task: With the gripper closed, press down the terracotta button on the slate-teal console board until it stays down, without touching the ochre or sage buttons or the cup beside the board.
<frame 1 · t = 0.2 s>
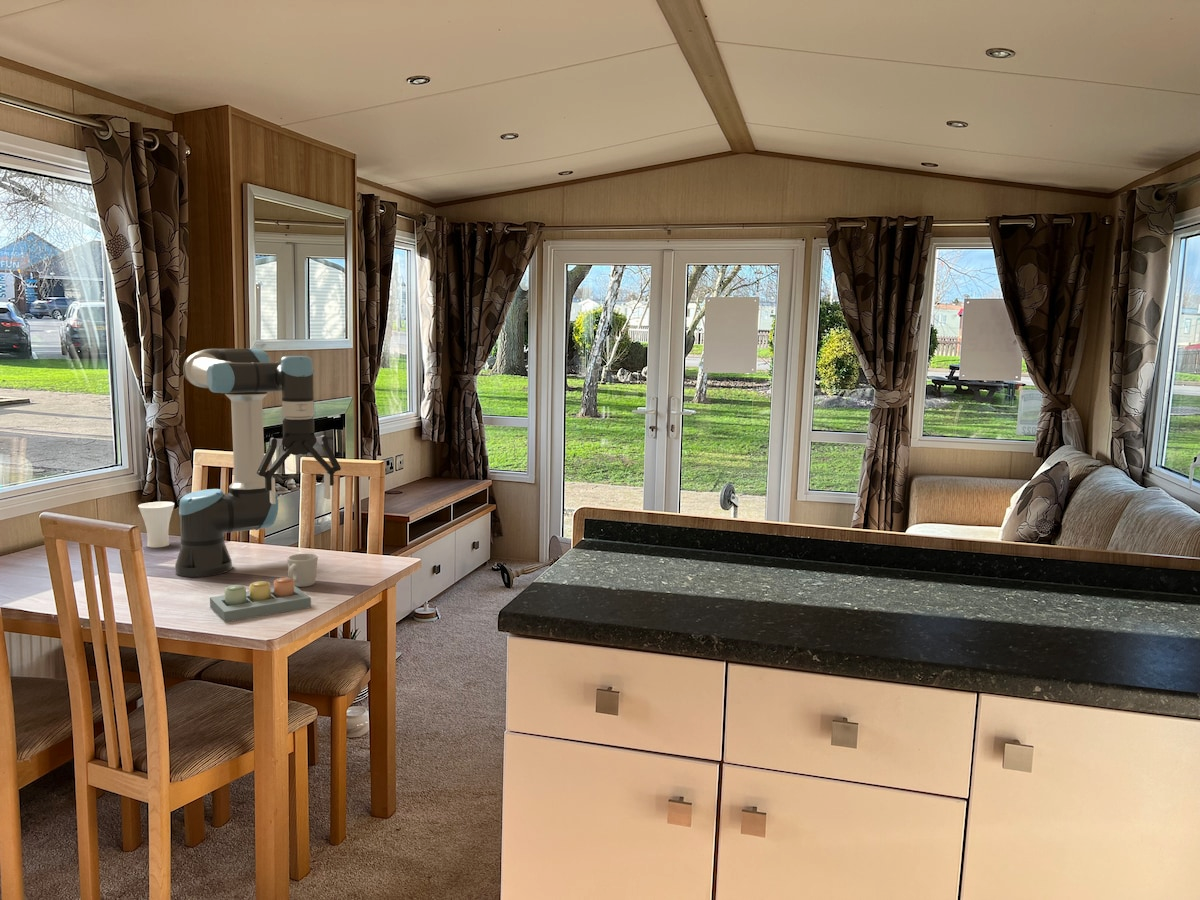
hand: (300, 500, 222), 28 cm above the table, fingers open, 13 cm apart
cup 2: (158, 546, 284), on the table
button terracotta: (283, 587, 226), point 4 cm above the table, slide at 0.0 cm
button ochre: (260, 591, 223), point 4 cm above the table, slide at 0.0 cm
button sage: (235, 595, 219), point 4 cm above the table, slide at 0.0 cm
cup: (300, 586, 242), on the table
console: (260, 607, 223), on the table
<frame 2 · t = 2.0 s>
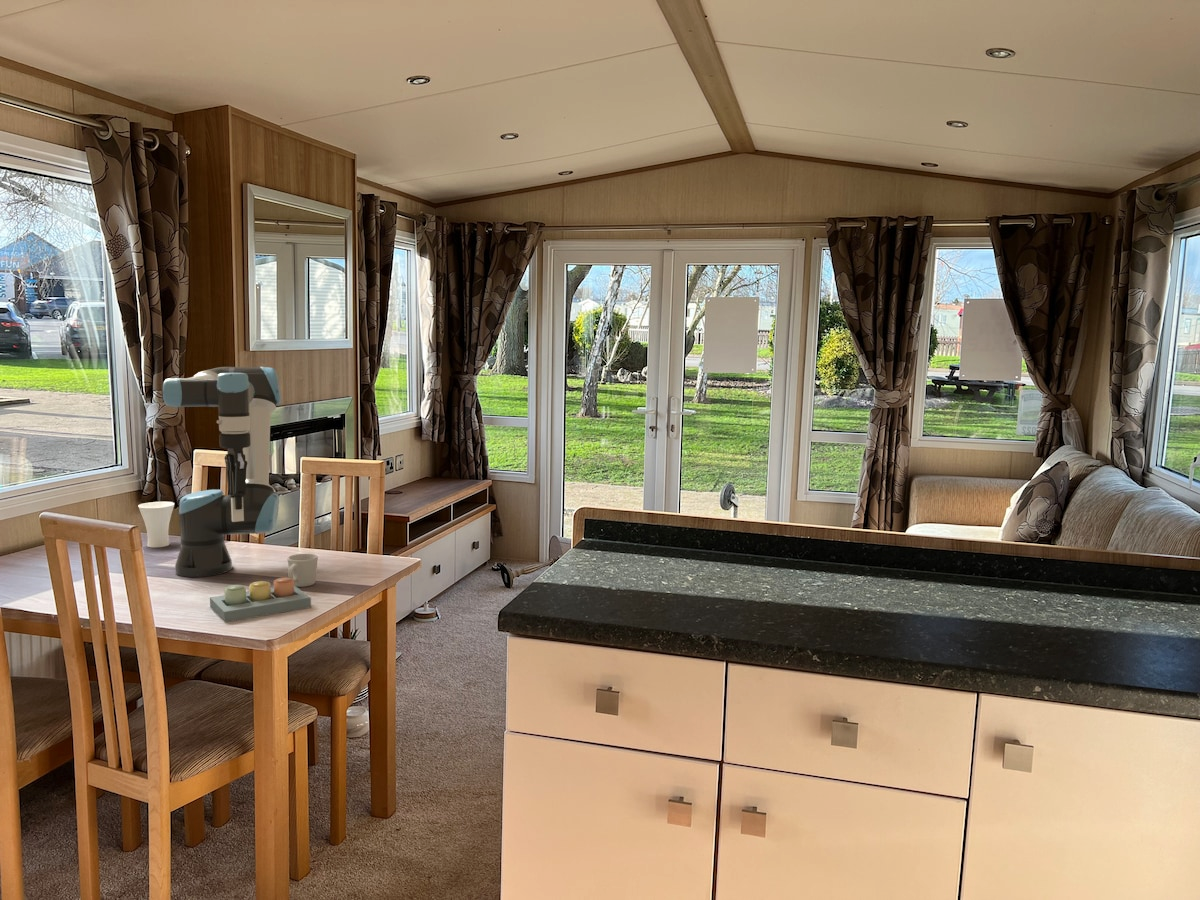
hand: (237, 520, 230), 20 cm above the table, fingers closed
nothing on the table moved.
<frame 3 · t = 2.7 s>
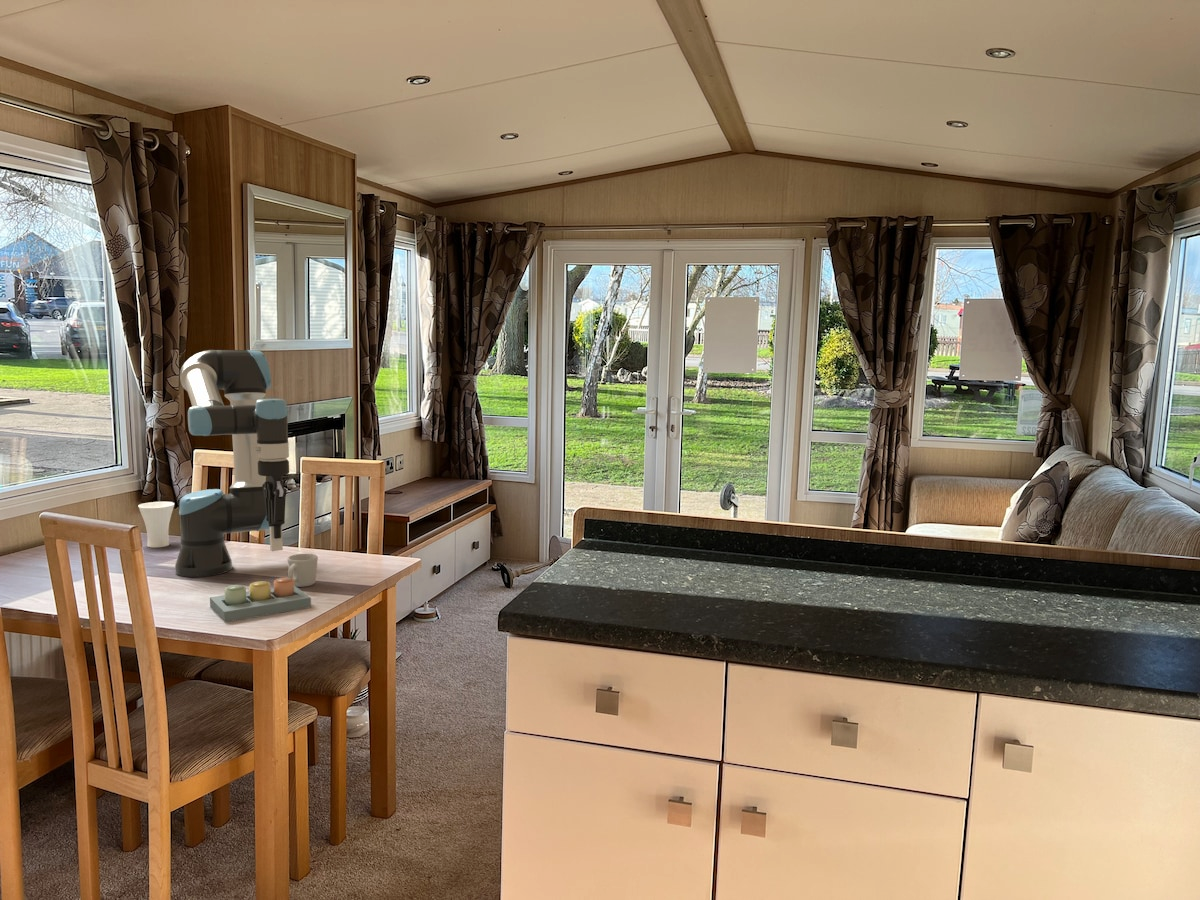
hand: (276, 550, 225), 14 cm above the table, fingers closed
nothing on the table moved.
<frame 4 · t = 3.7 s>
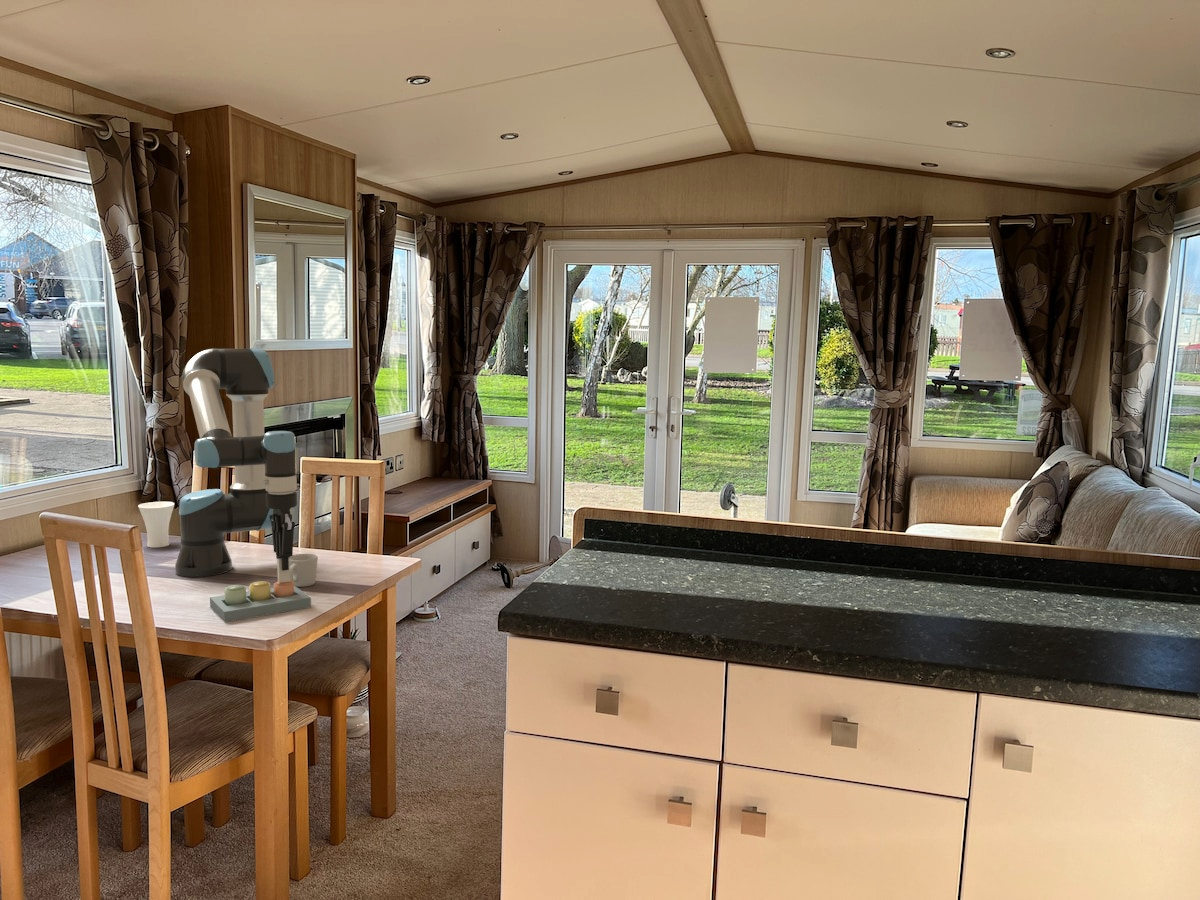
hand: (283, 581, 226), 6 cm above the table, fingers closed
button terracotta: (284, 589, 227), point 4 cm above the table, slide at 0.7 cm, touching gripper
everything else where it was.
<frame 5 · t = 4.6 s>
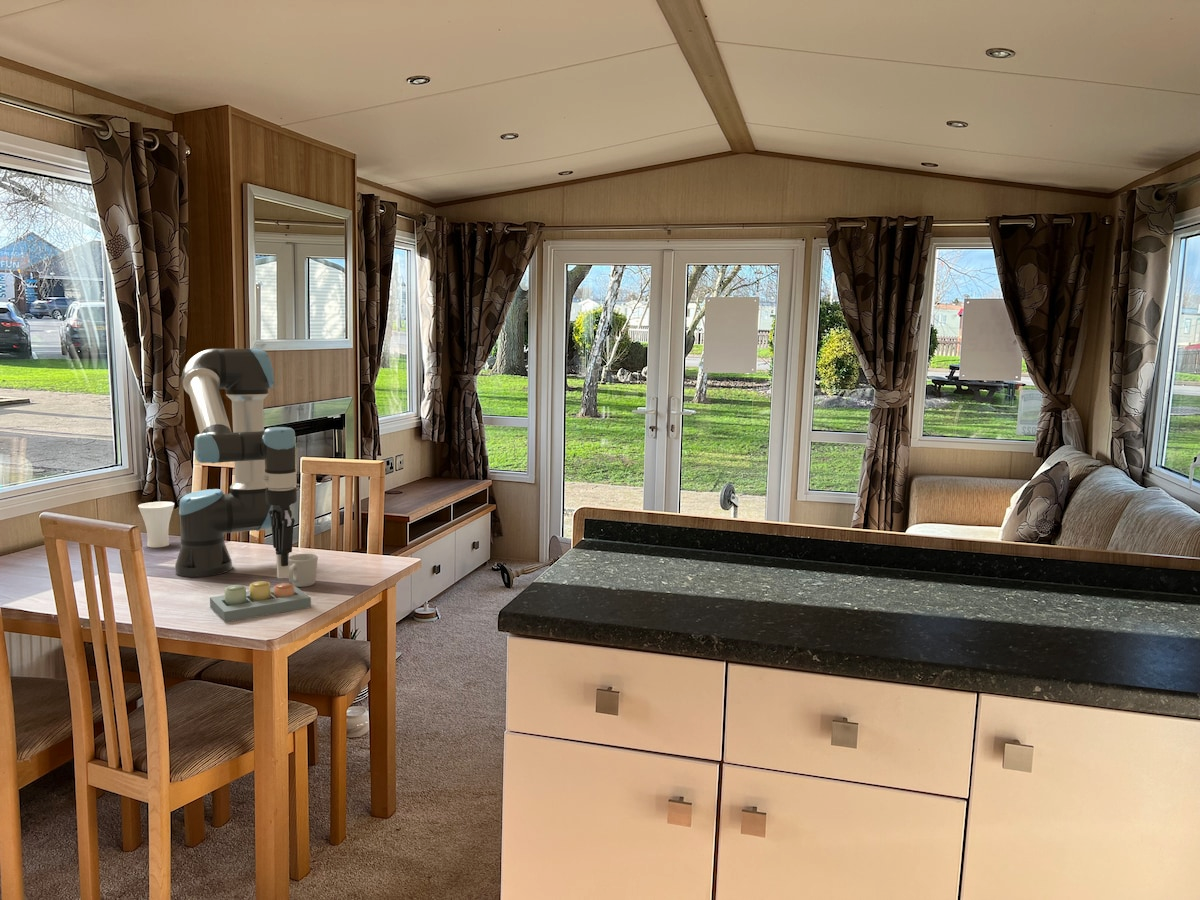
hand: (283, 577, 227), 7 cm above the table, fingers closed
button terracotta: (284, 592, 227), point 3 cm above the table, slide at 1.5 cm
everything else where it was.
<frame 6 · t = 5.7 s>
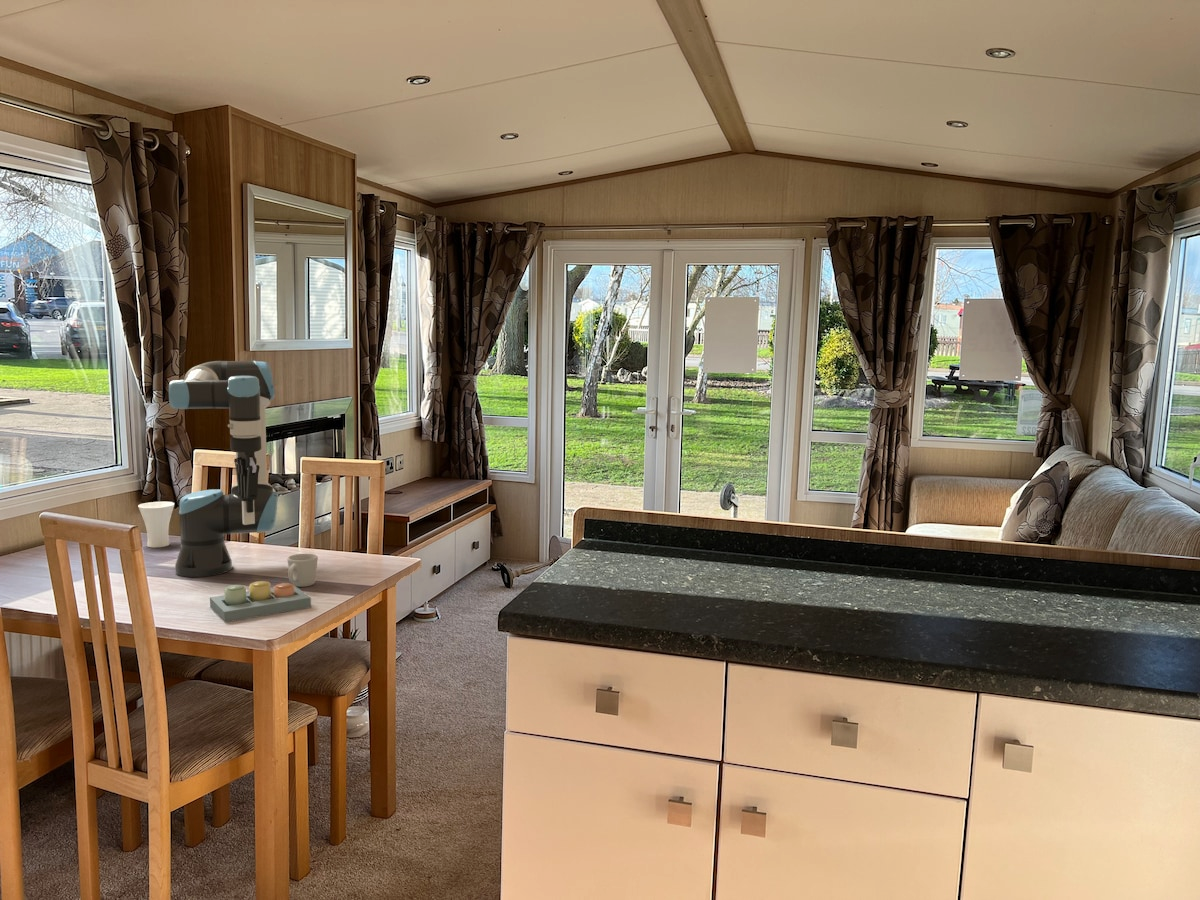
hand: (248, 523, 231), 20 cm above the table, fingers closed
nothing on the table moved.
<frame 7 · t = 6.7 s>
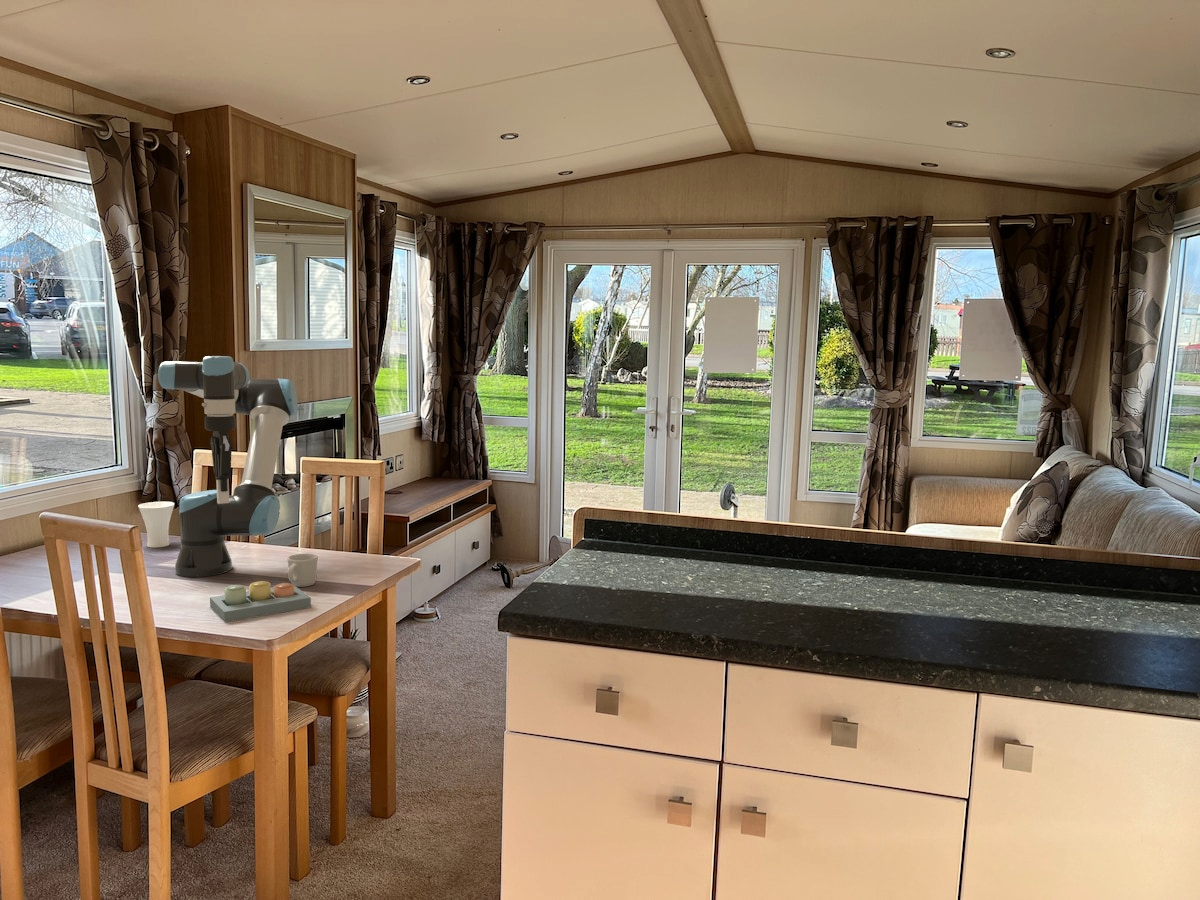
hand: (223, 502, 233), 24 cm above the table, fingers closed
nothing on the table moved.
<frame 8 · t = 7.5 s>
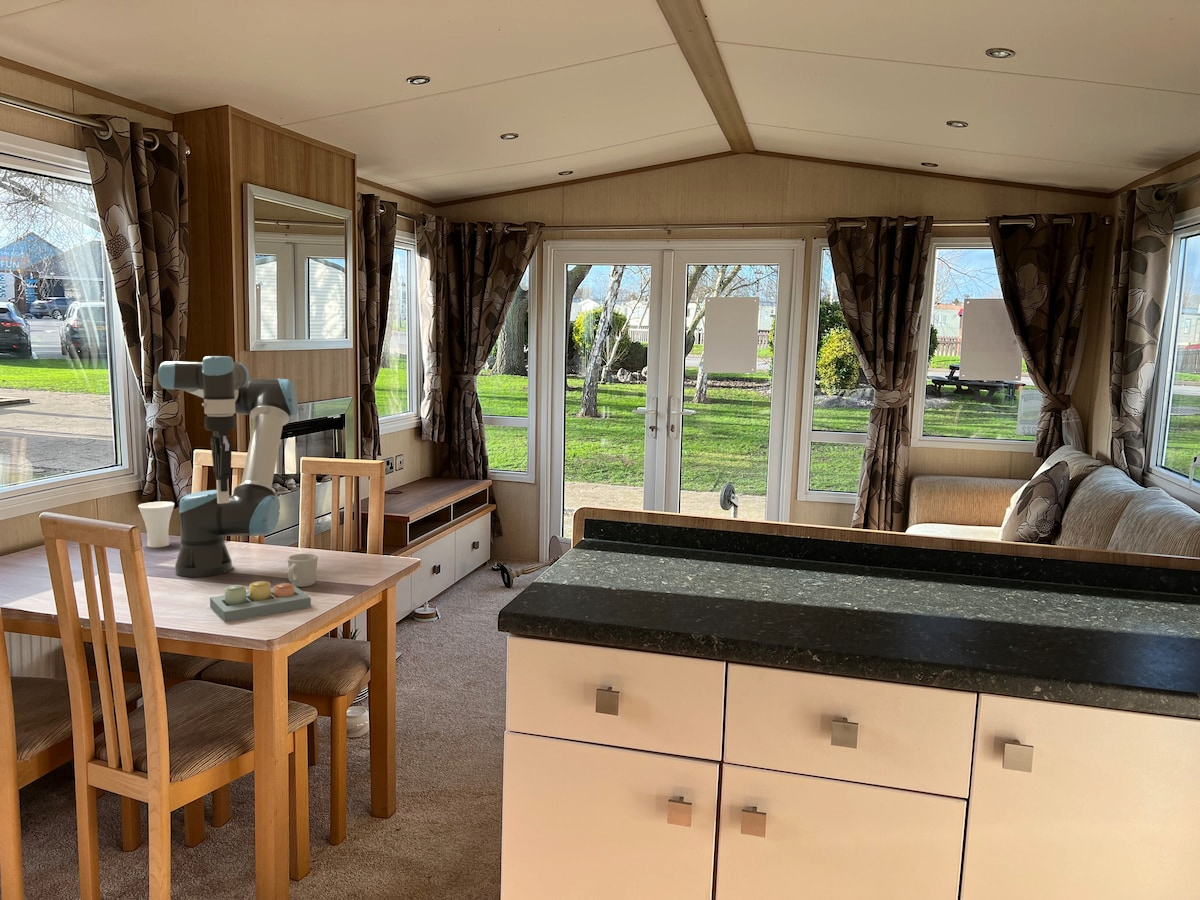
hand: (223, 502, 233), 24 cm above the table, fingers closed
nothing on the table moved.
at the end: button terracotta slide at 1.5 cm; button ochre slide at 0.0 cm; button sage slide at 0.0 cm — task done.
